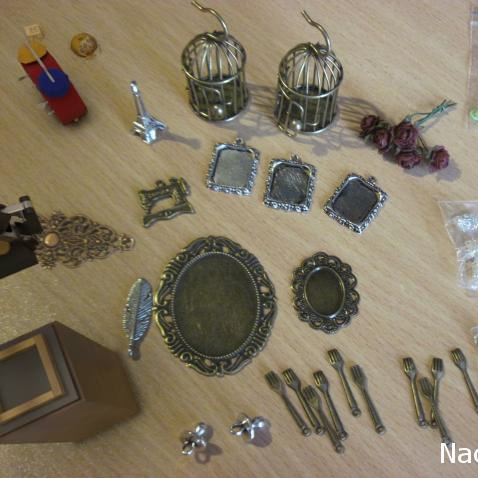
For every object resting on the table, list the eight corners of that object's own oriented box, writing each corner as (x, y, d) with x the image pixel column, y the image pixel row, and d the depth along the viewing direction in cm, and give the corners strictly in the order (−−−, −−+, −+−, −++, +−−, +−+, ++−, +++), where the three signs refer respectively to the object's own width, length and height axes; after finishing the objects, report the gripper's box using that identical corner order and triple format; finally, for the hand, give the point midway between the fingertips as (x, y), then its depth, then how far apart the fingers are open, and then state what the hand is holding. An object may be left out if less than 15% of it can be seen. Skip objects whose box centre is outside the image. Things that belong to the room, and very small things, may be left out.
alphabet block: (28, 35, 131) (23, 26, 128) (41, 31, 131) (36, 22, 128) (32, 45, 130) (26, 36, 127) (45, 41, 130) (40, 32, 128)
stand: (79, 442, 102) (-16, 445, 68) (57, 382, 105) (-44, 356, 71) (141, 411, 105) (79, 399, 71) (118, 354, 108) (49, 316, 74)
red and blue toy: (96, 123, 124) (66, 68, 106) (61, 143, 122) (24, 90, 103) (62, 78, 128) (27, 16, 109) (28, 96, 125) (-15, 36, 106)
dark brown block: (-2, 280, 73) (-15, 273, 69) (-14, 245, 74) (-28, 236, 71) (39, 263, 74) (28, 255, 71) (26, 229, 75) (15, 219, 72)
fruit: (95, 71, 129) (90, 61, 125) (64, 56, 129) (58, 46, 126) (115, 46, 132) (111, 35, 128) (85, 31, 132) (80, 21, 129)
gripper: (-125, 262, 55) (-37, 301, 71) (20, 205, 58) (73, 255, 74) (-143, 199, 57) (-54, 251, 73) (-2, 148, 60) (54, 208, 76)
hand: (10, 252), depth 73 cm, fingers closed on dark brown block, 5 cm apart
